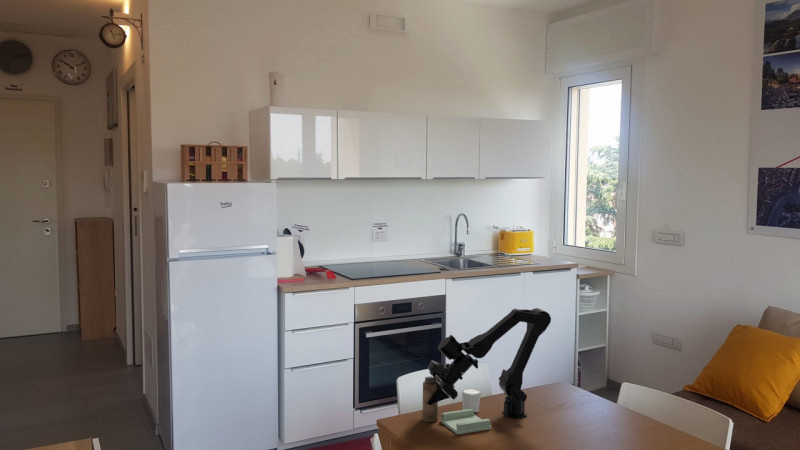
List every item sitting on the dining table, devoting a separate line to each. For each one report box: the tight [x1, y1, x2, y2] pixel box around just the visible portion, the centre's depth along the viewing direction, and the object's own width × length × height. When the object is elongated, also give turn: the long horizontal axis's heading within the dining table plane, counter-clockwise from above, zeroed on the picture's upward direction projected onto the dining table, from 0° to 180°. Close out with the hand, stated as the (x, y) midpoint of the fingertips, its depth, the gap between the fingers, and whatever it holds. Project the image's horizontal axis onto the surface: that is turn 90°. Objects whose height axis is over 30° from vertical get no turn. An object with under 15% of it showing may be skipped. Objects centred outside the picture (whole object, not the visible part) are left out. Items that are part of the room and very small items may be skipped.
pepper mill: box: [422, 376, 439, 423], centre depth 212 cm, size 5×5×15 cm
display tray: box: [439, 409, 493, 435], centre depth 207 cm, size 13×12×3 cm
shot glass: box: [461, 388, 482, 413], centre depth 222 cm, size 7×7×7 cm
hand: (426, 401), depth 212 cm, fingers closed on pepper mill, 5 cm apart
